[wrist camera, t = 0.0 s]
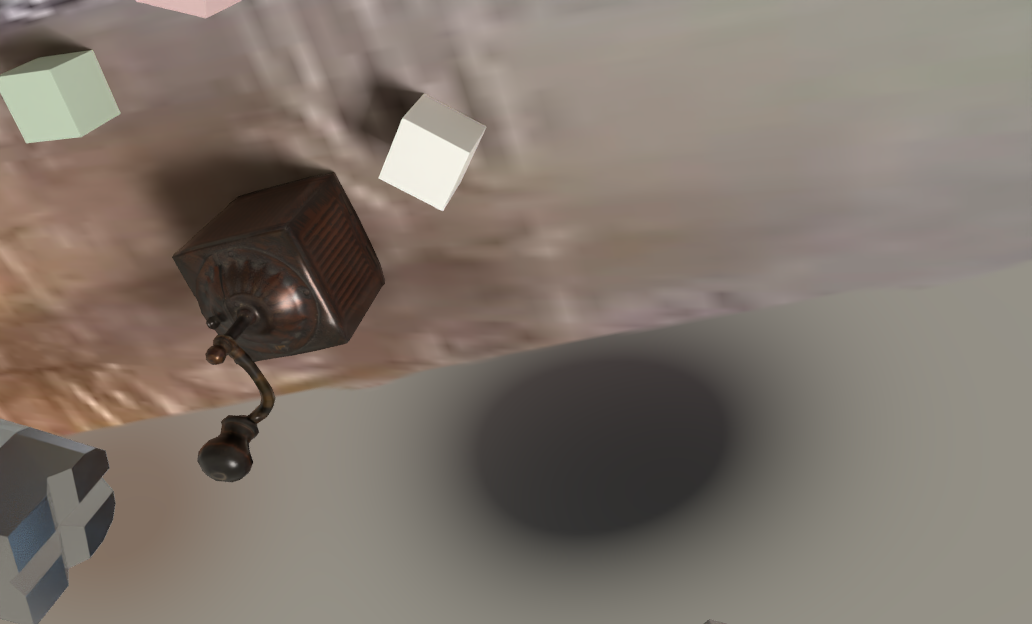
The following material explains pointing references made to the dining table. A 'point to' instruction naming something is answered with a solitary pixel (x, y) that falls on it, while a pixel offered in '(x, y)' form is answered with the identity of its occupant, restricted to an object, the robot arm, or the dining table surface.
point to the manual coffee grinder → (277, 290)
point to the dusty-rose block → (193, 6)
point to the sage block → (58, 96)
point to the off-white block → (431, 151)
